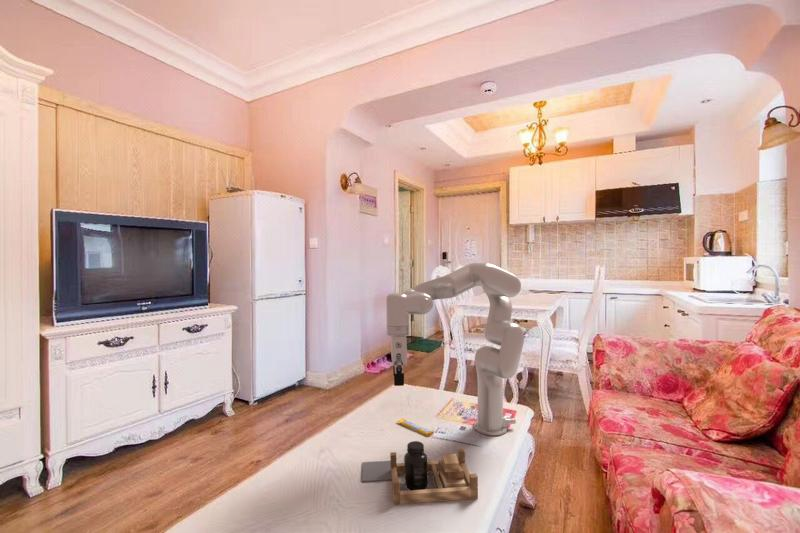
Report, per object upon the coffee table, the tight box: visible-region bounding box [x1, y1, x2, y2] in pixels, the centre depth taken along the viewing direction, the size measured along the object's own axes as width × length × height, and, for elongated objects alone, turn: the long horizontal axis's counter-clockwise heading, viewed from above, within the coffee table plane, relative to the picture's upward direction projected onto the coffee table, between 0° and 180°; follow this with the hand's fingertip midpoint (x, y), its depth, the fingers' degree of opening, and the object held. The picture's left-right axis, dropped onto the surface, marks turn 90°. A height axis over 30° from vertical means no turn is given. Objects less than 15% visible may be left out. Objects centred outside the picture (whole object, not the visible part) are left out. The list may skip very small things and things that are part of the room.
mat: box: [361, 460, 392, 483], centre depth 114 cm, size 10×10×1 cm
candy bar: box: [396, 417, 435, 438], centre depth 142 cm, size 17×4×2 cm, turn 45°
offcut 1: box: [442, 453, 459, 472], centre depth 107 cm, size 4×5×2 cm
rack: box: [389, 447, 479, 505], centre depth 107 cm, size 23×15×6 cm, turn 95°
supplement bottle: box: [403, 440, 429, 491], centre depth 107 cm, size 7×7×12 cm
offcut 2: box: [437, 459, 464, 482], centre depth 108 cm, size 5×7×2 cm
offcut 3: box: [438, 469, 467, 488], centre depth 108 cm, size 6×9×3 cm, turn 6°
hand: (398, 380), depth 123 cm, fingers open, 9 cm apart
